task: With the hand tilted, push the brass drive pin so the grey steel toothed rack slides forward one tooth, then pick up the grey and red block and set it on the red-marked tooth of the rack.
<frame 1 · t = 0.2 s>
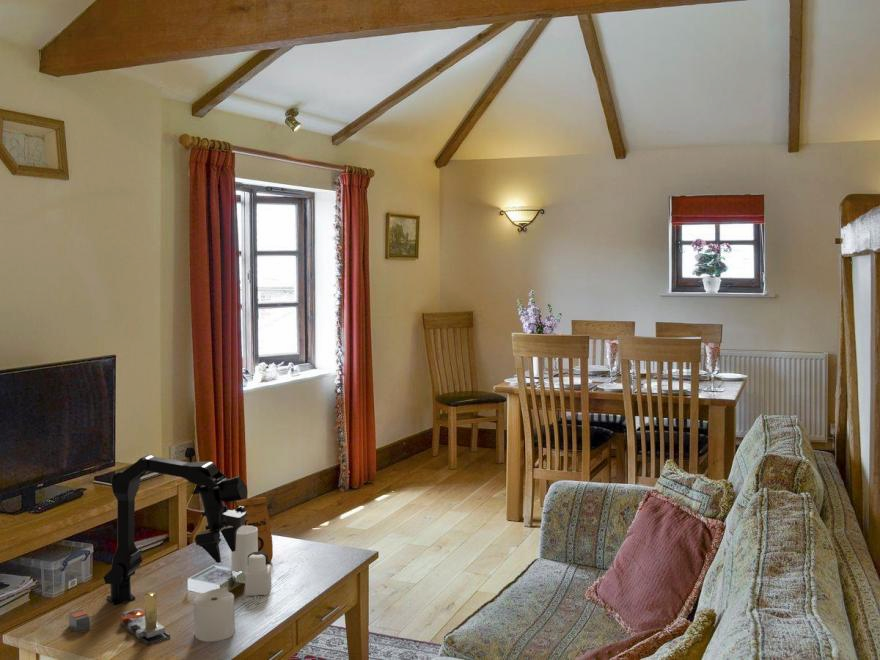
hand: (226, 556, 247), 15 cm above the table, tool pointing down, fingers open, 9 cm apart
grey and red block: (79, 628, 234), on the table
white cylinder: (245, 578, 270), on the table
medicine bottle: (258, 592, 260), on the table
guide: (145, 630, 233), on the table
coffee package: (253, 562, 284), on the table
rack: (140, 607, 232), point 6 cm above the table, slide at 0.0 cm
toilet tissue: (214, 633, 232), on the table
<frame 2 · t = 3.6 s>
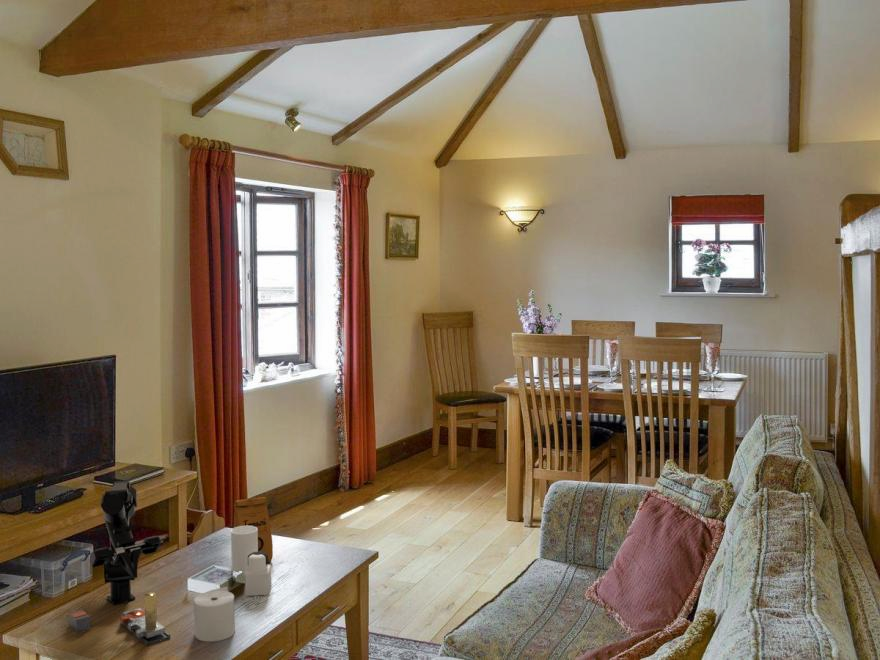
hand: (135, 577, 236), 13 cm above the table, tool tilted 45°, fingers closed
nothing on the table moved.
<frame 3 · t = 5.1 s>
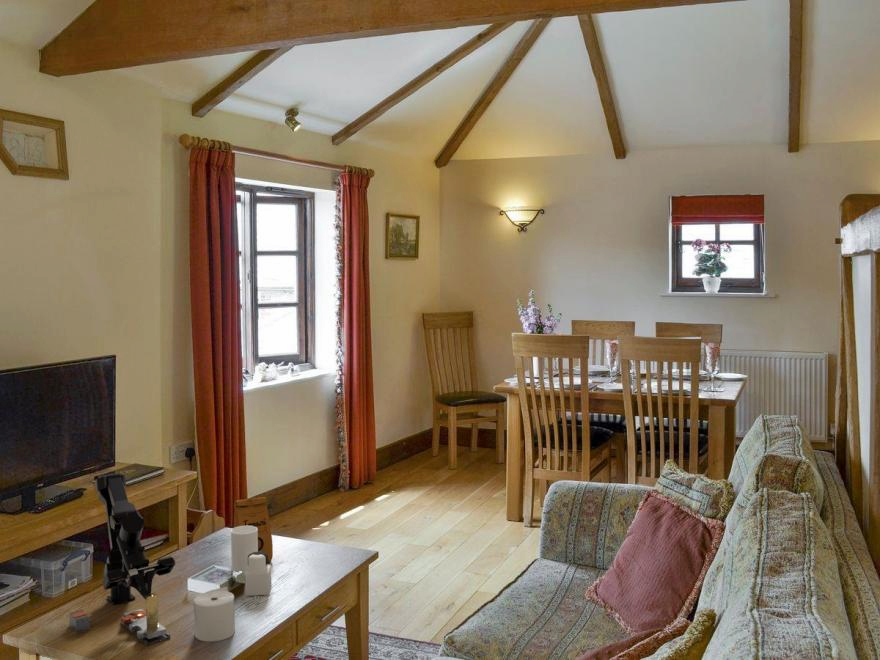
hand: (148, 600, 229), 10 cm above the table, tool tilted 45°, fingers closed
rack: (141, 608, 232), point 6 cm above the table, slide at 0.8 cm, touching gripper
everything else where it was.
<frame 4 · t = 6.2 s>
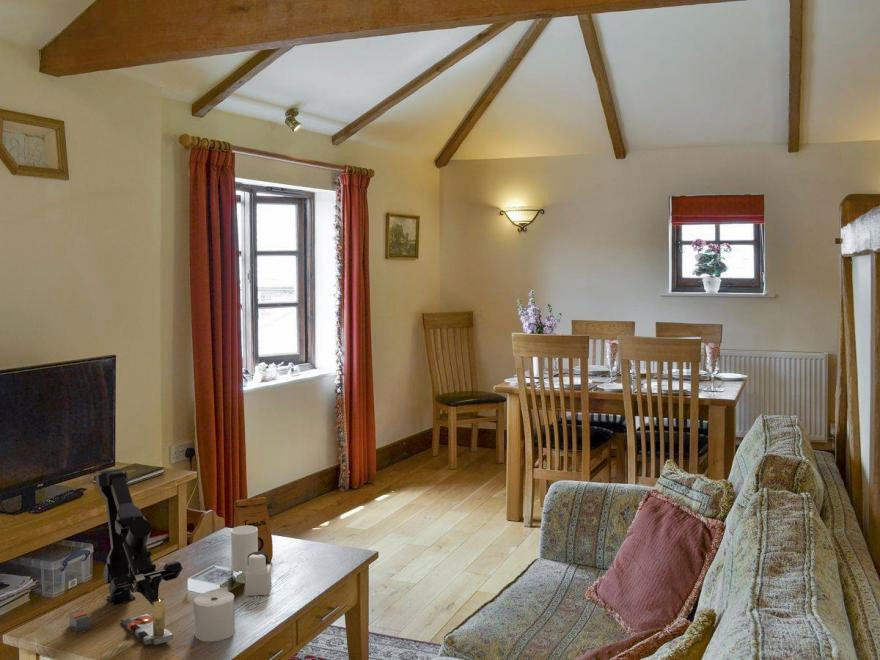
hand: (155, 606, 226), 10 cm above the table, tool tilted 45°, fingers closed, pressing on rack
rack: (147, 613, 229), point 6 cm above the table, slide at 5.2 cm, touching gripper
everything else where it was.
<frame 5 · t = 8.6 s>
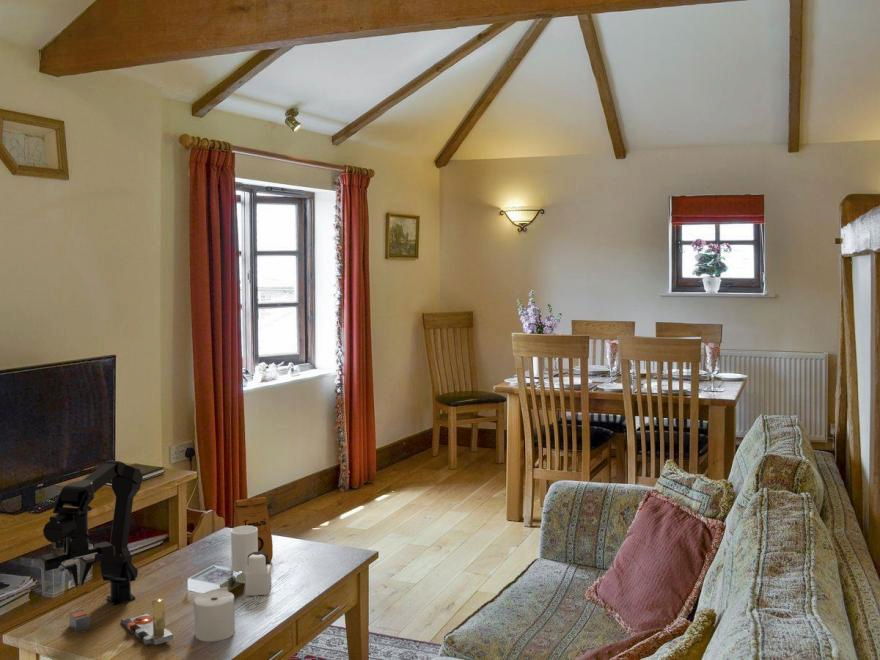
hand: (78, 585, 233), 12 cm above the table, tool pointing down, fingers closed
rack: (147, 613, 229), point 6 cm above the table, slide at 5.2 cm
everything else where it was.
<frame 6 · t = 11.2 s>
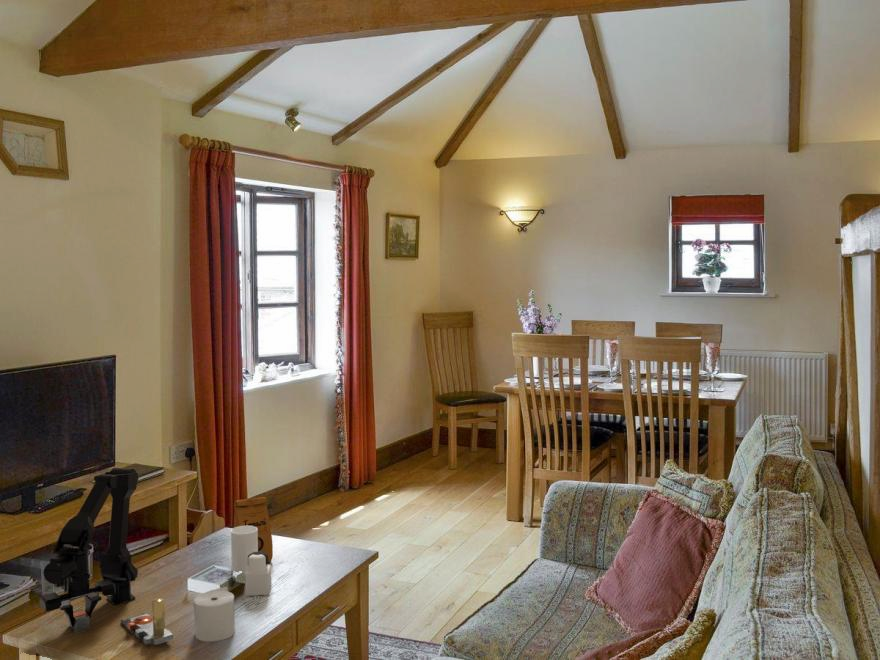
hand: (79, 624, 234), 1 cm above the table, tool pointing down, fingers closed on grey and red block, 3 cm apart
grey and red block: (79, 628, 234), on the table, touching gripper
everything else where it was.
when the fingers open (5 cm above the table, at t = 14.9 s): grey and red block drops 1 cm, resting on rack.
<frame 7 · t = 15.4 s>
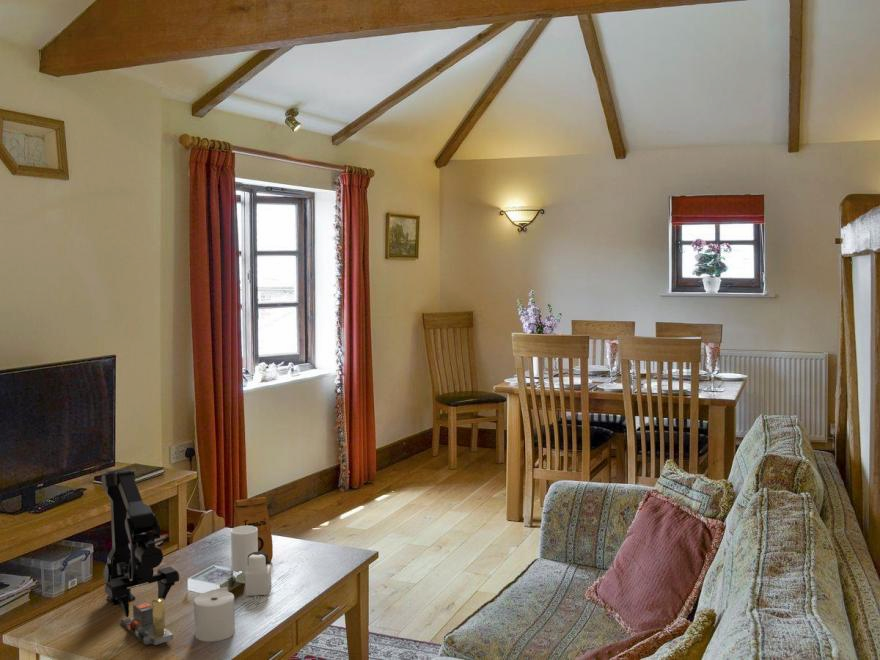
hand: (143, 611, 233), 5 cm above the table, tool pointing down, fingers open, 9 cm apart
grey and red block: (144, 620, 233), point 3 cm above the table, touching rack
rack: (147, 613, 229), point 6 cm above the table, slide at 5.2 cm, touching grey and red block
everything else where it was.
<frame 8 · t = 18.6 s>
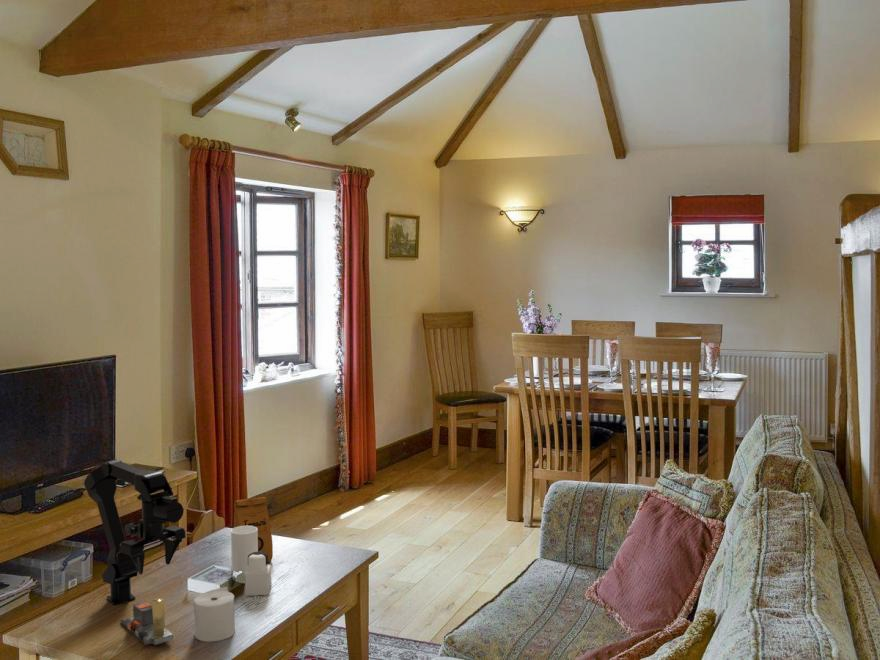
hand: (154, 568, 243), 13 cm above the table, tool pointing down, fingers open, 9 cm apart
nothing on the table moved.
at the end: rack slide at 5.2 cm; grey and red block 0.3 cm from the target spot on the rack, point 2.8 cm above the rack's base; grey and red block tilted 0° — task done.
